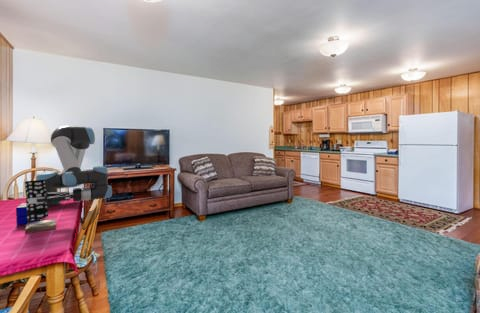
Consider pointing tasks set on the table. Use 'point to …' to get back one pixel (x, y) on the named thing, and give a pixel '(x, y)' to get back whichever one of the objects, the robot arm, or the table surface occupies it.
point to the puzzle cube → (23, 215)
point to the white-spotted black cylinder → (35, 191)
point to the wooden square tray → (40, 225)
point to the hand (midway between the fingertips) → (29, 199)
